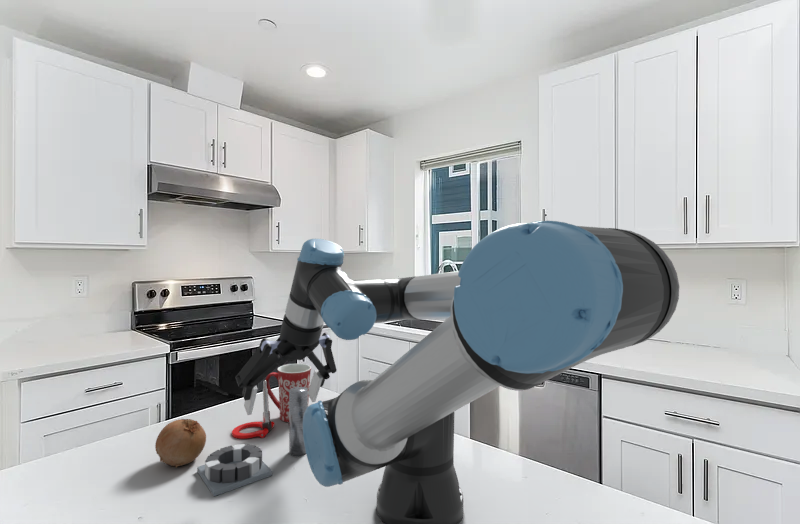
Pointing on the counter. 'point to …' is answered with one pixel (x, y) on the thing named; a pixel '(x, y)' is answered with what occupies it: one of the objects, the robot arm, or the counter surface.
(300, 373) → the mug
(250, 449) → the chuck
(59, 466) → the counter surface
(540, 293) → the robot arm
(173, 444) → the onion
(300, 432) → the steel rod
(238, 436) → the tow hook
